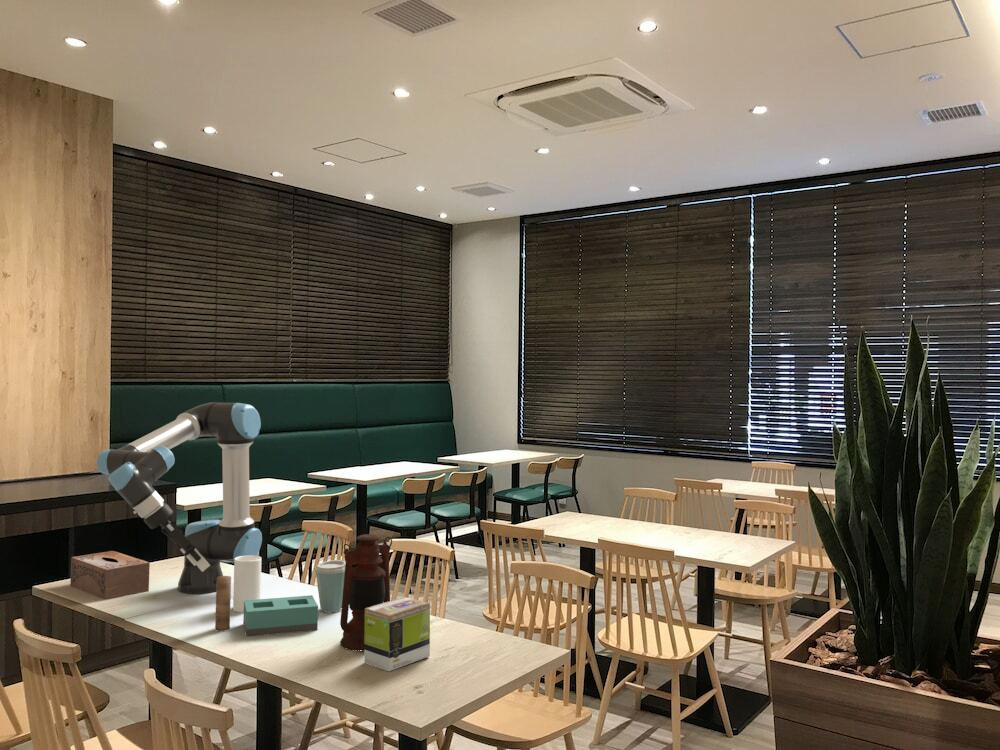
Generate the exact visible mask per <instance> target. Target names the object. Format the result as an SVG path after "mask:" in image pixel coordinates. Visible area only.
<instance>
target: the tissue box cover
mask: <svg viewBox="0 0 1000 750" xmlns="http://www.w3.org/2000/svg"><path fill="white" fill-rule="evenodd" d="M150 564H151V563H150V562H149V561H146V560H144V559H140V558H136V557H134V556H130V555H127V554H124V553H121V552H118V551H114V550H109V551H103V552H97V553H96V552H95V553H90V554H84V555H78V556H71V557H70V579H69V580H70V581H69V582H70V585H69V586H71V587H74V588H75V589H78V590H81V591H82V592H86V593H87V594H90V595H92V596H95V597H96V598H100V599H103V600H104V601H105V600H106V601H107V600H108V601H109V600H112V599H116V598H117V599H118V598H122V597H128V596H131V595H137V594H142V593H147V592H150V591H149V590H150V567H151V565H150Z"/></svg>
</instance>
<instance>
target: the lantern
mask: <svg viewBox="0 0 1000 750" xmlns="http://www.w3.org/2000/svg"><path fill="white" fill-rule="evenodd" d="M380 539H381V538H380V536H379V535H376V534H372V533H367V534H360V535H358V536H356V540H357V541H359V542H358V543H357V544H356V547H357V548H354V549H352V547H351V546H350V544H349V543H344V545H343V550H344V551H343V554H344V561H345V562H346V564H345V575H344V587H343V598H342V608H341V610H340V611H341V612H340V620H339V625H340V628H341V630H342V631H343V633H342V638H341V639H340V641H339V643H340V646H341V647H342V646H343V647H344V649H345V648H347V649H346V650H349V649H350V650H349V651H353V650H357V651H356V652H364V636H365V608H368V607H371V606H375V605H378V604H381V603H385V602H389V601H391V587H390V586H391V585H390V583H391V582H390V551H391V547H392V544H393V538H392V537H390V536H386V538H384V542H383V543H382V544H379V543H378V542H377V541H379V540H380ZM388 539H390V544H388V543H387V542H386V541H387V540H388ZM346 546H347V548H346ZM380 555H381V556H380ZM381 563H382V564H381ZM379 564H381V565H382V567H381V566H379ZM349 609H350V611H351V615H352V618H351V619H350V620H349V619H348V618H349ZM348 620H349V621H348ZM343 647H342V648H343ZM358 650H359V651H358ZM360 650H362V651H360Z"/></svg>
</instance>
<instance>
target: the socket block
mask: <svg viewBox="0 0 1000 750" xmlns="http://www.w3.org/2000/svg"><path fill="white" fill-rule="evenodd" d="M318 618H319V605H318V603H317V601H316V600H315V598H314V596H313V595H312V594H311V595H301V596H300V595H299V596H285V597H273V598H271V597H270V598H260V599H257V600H244V612H243V619H242V622H243V623H242V624H244V625H243V628H244V633H246V634H245V637H246V636H247V637H255V636H256V635H258V636H264V634H265V636H266V634H269V635H276V634H277V633H280V634H289V633H299V632H300V631H301V632H309V630H312V631H318V627H319V626H318V625H319V622H318V621H319V620H318ZM277 635H278V634H277Z"/></svg>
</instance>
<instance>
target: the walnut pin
mask: <svg viewBox="0 0 1000 750" xmlns="http://www.w3.org/2000/svg"><path fill="white" fill-rule="evenodd" d="M231 589H232V576H230V575H223V576H219V577H217V584H216V591H215V618H214V619H215V621H214V624H215V625H214V627H215V628H214V630H215V631H216V630H217V632H224V631H225V630H226V631H228V630H230V629H231V627H230V626H231V600H232V599H231V598H232V597H231V596H232V595H231V594H232V593H231V591H232V590H231ZM226 631H225V632H226Z"/></svg>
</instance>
